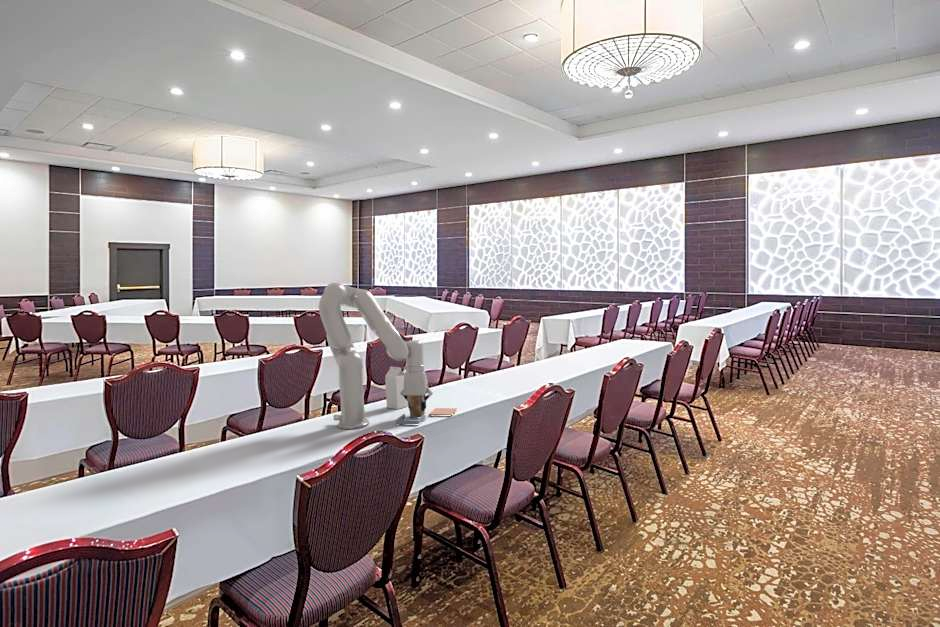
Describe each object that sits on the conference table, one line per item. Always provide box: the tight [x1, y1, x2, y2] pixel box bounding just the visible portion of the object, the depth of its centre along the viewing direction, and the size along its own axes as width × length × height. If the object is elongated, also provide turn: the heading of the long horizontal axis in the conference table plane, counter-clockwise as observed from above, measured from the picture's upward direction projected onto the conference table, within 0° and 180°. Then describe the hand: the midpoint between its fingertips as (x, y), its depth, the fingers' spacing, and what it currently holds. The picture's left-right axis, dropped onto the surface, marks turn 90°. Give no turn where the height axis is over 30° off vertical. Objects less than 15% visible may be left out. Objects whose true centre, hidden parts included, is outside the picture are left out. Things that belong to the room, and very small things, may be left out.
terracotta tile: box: [428, 407, 458, 416], centre depth 239 cm, size 10×10×1 cm
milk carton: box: [384, 366, 408, 410], centre depth 252 cm, size 7×7×19 cm
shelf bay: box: [395, 414, 426, 425], centre depth 227 cm, size 10×9×2 cm
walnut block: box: [409, 396, 426, 418], centre depth 235 cm, size 5×5×10 cm
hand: (417, 409), depth 235 cm, fingers closed on walnut block, 5 cm apart
